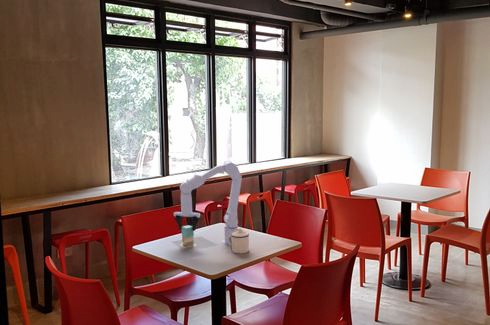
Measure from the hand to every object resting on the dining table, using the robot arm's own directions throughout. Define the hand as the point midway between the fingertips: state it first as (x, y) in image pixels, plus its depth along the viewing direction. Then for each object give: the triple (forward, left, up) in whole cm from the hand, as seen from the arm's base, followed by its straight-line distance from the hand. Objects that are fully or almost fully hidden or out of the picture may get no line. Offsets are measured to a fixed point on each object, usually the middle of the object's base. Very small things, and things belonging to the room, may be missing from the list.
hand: (187, 229), depth 243 cm
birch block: (0, 0, -8) cm, 8 cm away
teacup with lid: (-22, -18, -9) cm, 30 cm away
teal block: (0, 0, -3) cm, 3 cm away
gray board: (+1, -4, -9) cm, 10 cm away
